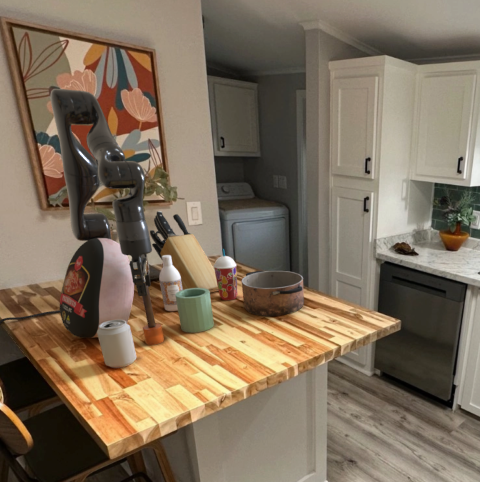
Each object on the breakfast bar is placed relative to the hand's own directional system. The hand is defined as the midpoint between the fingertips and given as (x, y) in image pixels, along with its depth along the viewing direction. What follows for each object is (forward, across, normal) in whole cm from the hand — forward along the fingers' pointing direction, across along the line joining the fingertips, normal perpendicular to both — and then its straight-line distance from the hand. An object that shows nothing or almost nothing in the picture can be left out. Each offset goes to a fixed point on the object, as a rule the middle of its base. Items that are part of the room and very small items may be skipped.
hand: (145, 291), depth 120 cm
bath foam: (+16, -28, +4) cm, 33 cm away
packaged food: (+17, -12, -15) cm, 25 cm away
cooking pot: (+17, -20, +39) cm, 47 cm away
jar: (+16, -8, +12) cm, 22 cm away
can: (+17, +12, -7) cm, 22 cm away
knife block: (+16, -54, +8) cm, 57 cm away
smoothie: (+16, -34, +23) cm, 44 cm away
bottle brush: (+16, 0, 0) cm, 17 cm away
